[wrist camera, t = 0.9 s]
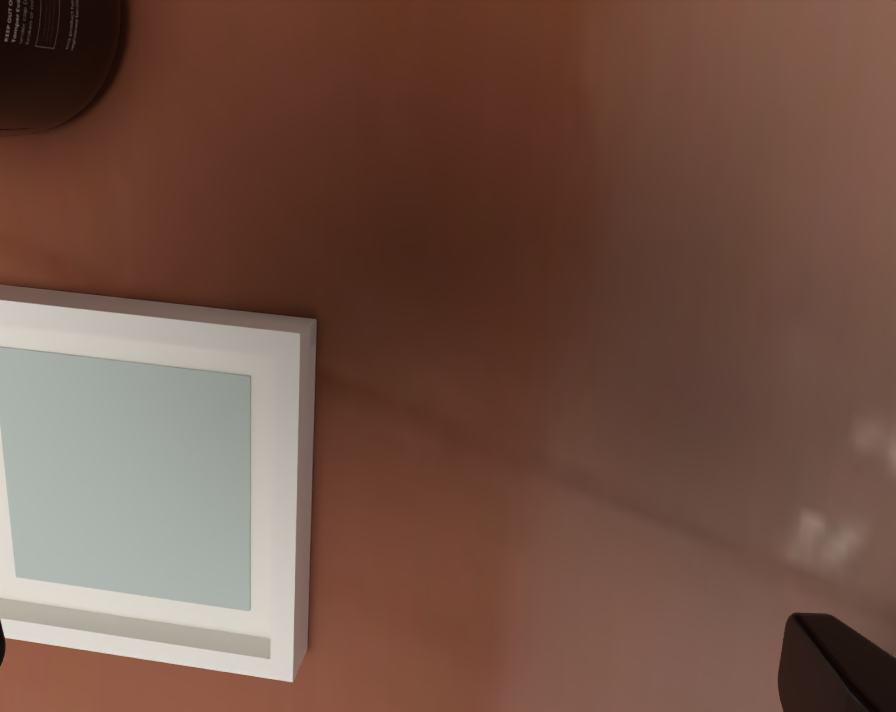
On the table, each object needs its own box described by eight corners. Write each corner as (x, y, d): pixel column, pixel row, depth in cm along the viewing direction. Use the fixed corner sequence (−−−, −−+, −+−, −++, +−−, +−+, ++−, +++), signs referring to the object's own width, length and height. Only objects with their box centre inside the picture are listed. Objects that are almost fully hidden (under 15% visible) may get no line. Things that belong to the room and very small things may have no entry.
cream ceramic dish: (316, 319, 21) (300, 333, 20) (307, 649, 25) (292, 682, 23) (-51, 278, 22) (-92, 289, 21) (-13, 601, 26) (-46, 629, 24)
